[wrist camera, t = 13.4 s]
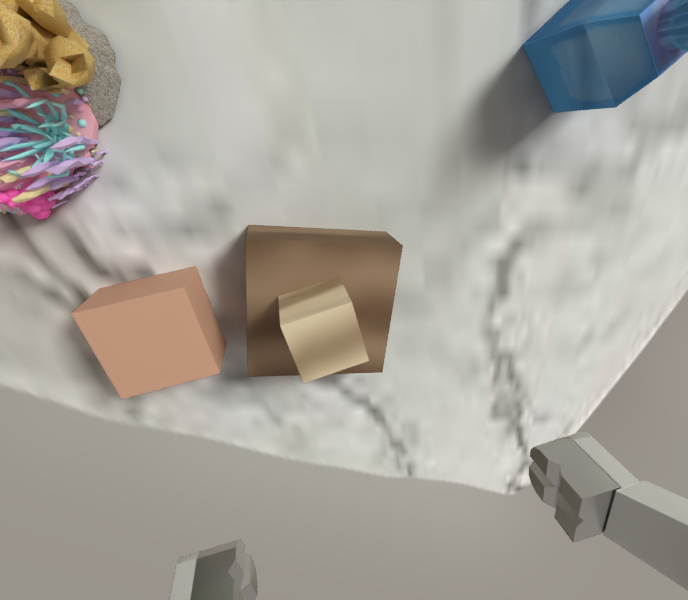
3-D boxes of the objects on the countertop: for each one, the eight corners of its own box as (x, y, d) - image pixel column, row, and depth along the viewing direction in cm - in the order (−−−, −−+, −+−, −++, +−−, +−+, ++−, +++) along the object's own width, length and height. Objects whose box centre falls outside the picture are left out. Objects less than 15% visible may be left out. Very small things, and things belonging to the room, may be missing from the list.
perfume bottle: (521, 45, 28) (676, -11, 18) (587, -17, 27) (792, -116, 17) (553, 112, 31) (704, 99, 20) (614, 57, 30) (807, 14, 19)
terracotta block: (100, 287, 30) (70, 313, 26) (196, 265, 31) (183, 287, 26) (141, 364, 34) (121, 399, 29) (226, 342, 34) (219, 373, 30)
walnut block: (248, 223, 30) (245, 238, 26) (384, 230, 33) (402, 245, 28) (250, 346, 35) (247, 376, 31) (368, 344, 38) (382, 372, 33)
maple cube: (278, 295, 28) (280, 326, 24) (338, 275, 28) (351, 302, 24) (298, 346, 30) (303, 383, 26) (354, 328, 31) (369, 360, 26)
